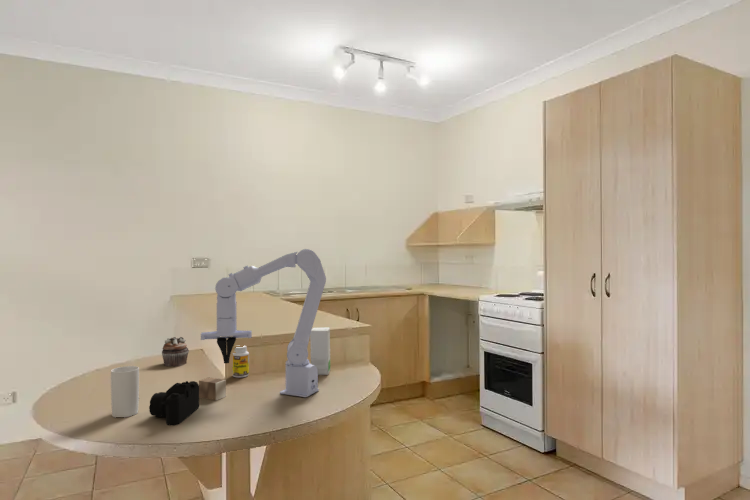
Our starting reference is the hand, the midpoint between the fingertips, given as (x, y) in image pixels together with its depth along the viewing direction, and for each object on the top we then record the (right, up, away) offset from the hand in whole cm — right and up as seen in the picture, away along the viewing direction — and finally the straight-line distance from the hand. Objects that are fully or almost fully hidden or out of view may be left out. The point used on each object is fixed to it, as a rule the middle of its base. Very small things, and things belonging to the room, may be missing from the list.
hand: (226, 362), depth 142 cm
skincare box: (+25, -10, +27) cm, 38 cm away
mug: (-23, -10, -14) cm, 28 cm away
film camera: (-9, -10, -17) cm, 22 cm away
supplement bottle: (-2, -10, +22) cm, 24 cm away
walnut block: (-1, -8, -3) cm, 8 cm away
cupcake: (-32, -10, +39) cm, 51 cm away
